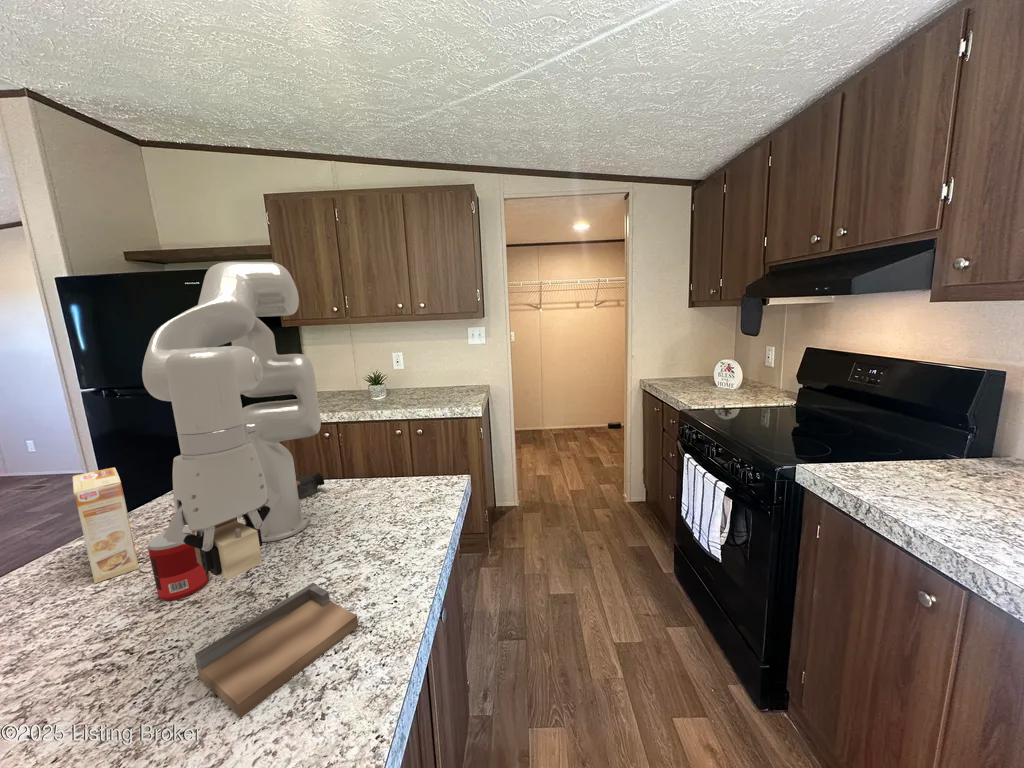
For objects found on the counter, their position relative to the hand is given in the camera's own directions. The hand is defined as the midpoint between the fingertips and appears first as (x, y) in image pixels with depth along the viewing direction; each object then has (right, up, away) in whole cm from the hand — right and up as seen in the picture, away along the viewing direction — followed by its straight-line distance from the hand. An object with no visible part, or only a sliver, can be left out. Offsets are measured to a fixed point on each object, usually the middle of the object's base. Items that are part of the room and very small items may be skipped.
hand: (234, 561), depth 60 cm
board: (+5, -15, +4) cm, 17 cm away
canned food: (-24, -14, +21) cm, 34 cm away
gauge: (-1, 0, +1) cm, 2 cm away
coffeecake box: (-47, -14, +31) cm, 58 cm away
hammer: (-24, -8, +59) cm, 64 cm away
